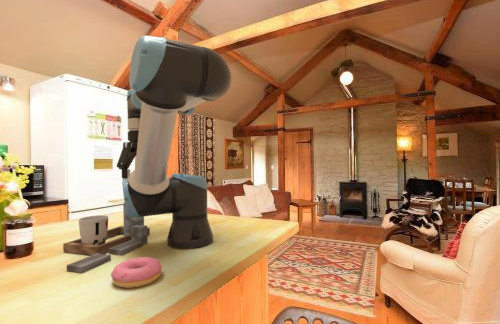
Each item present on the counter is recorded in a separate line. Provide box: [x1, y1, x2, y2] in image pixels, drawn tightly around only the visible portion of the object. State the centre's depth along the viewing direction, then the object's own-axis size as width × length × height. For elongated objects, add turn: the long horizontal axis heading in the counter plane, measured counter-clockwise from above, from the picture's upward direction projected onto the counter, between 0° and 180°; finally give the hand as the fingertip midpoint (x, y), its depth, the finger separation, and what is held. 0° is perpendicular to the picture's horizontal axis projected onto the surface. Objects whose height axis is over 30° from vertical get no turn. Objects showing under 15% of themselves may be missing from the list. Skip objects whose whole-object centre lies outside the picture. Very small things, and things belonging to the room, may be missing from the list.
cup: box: [78, 214, 109, 245], centre depth 84 cm, size 8×8×10 cm
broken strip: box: [66, 224, 149, 274], centre depth 78 cm, size 5×25×6 cm, turn 162°
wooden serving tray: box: [62, 202, 151, 256], centre depth 91 cm, size 13×25×12 cm, turn 162°
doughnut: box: [110, 256, 163, 289], centre depth 62 cm, size 11×11×4 cm
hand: (139, 186), depth 101 cm, fingers open, 13 cm apart
